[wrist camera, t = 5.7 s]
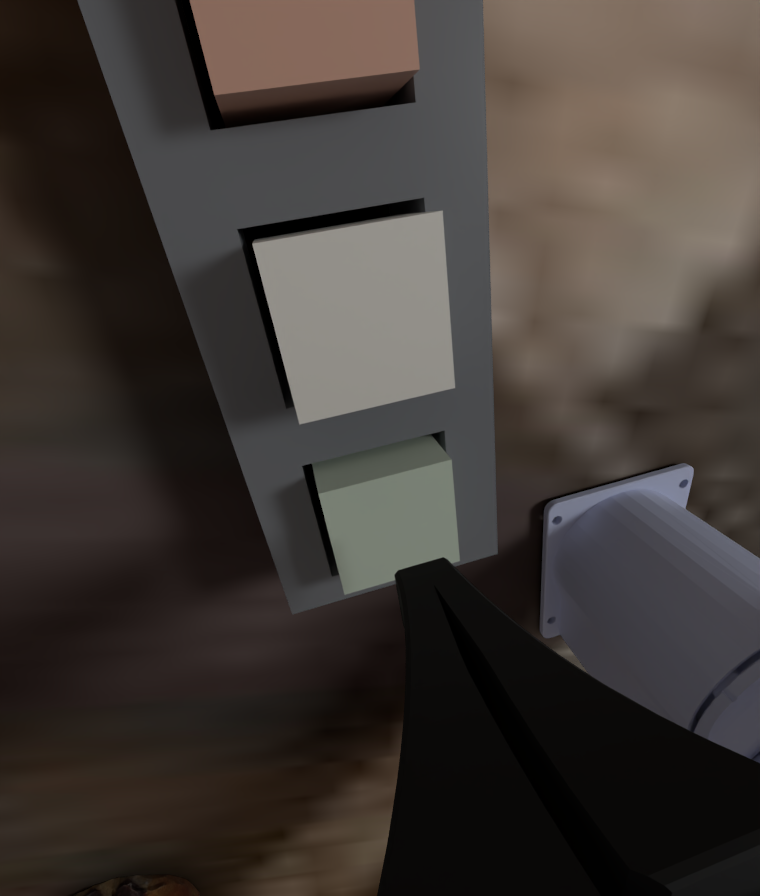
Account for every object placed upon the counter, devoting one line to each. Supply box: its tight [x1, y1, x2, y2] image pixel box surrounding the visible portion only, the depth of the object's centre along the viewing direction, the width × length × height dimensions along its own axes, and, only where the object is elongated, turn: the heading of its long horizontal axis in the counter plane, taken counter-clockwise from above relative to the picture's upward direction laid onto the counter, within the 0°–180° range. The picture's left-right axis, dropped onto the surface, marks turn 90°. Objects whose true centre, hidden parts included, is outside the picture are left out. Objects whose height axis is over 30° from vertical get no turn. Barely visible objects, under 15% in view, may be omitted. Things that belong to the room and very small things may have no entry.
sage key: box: [312, 434, 460, 595], centre depth 15 cm, size 4×4×4 cm
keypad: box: [77, 0, 498, 614], centre depth 13 cm, size 20×8×4 cm, turn 9°
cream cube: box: [252, 211, 455, 425], centre depth 11 cm, size 4×4×4 cm
